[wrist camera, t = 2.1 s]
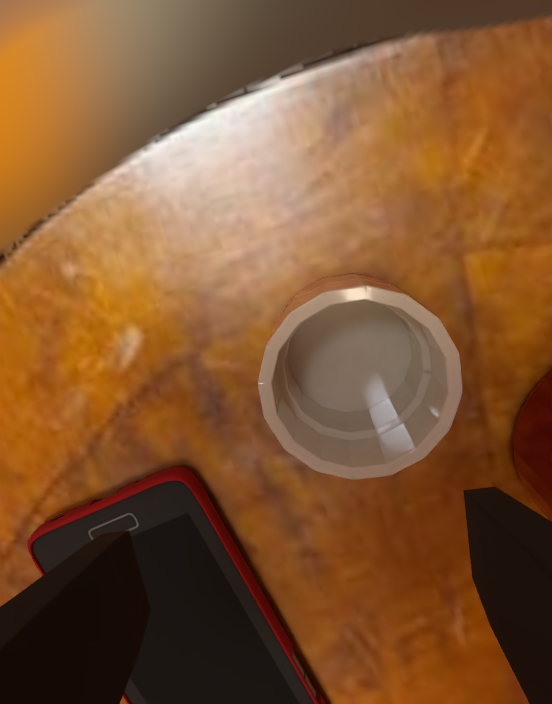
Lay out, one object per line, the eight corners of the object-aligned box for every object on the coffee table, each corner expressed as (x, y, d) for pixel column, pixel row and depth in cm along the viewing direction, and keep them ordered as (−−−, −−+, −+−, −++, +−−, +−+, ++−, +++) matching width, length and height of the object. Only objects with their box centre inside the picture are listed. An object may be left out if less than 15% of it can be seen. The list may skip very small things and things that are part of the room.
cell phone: (188, 455, 19) (182, 466, 18) (344, 730, 22) (346, 753, 21) (30, 525, 21) (16, 539, 20) (195, 777, 23) (190, 800, 22)
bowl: (417, 261, 17) (453, 271, 13) (432, 411, 18) (469, 467, 14) (260, 287, 18) (242, 304, 13) (285, 430, 19) (276, 489, 15)
